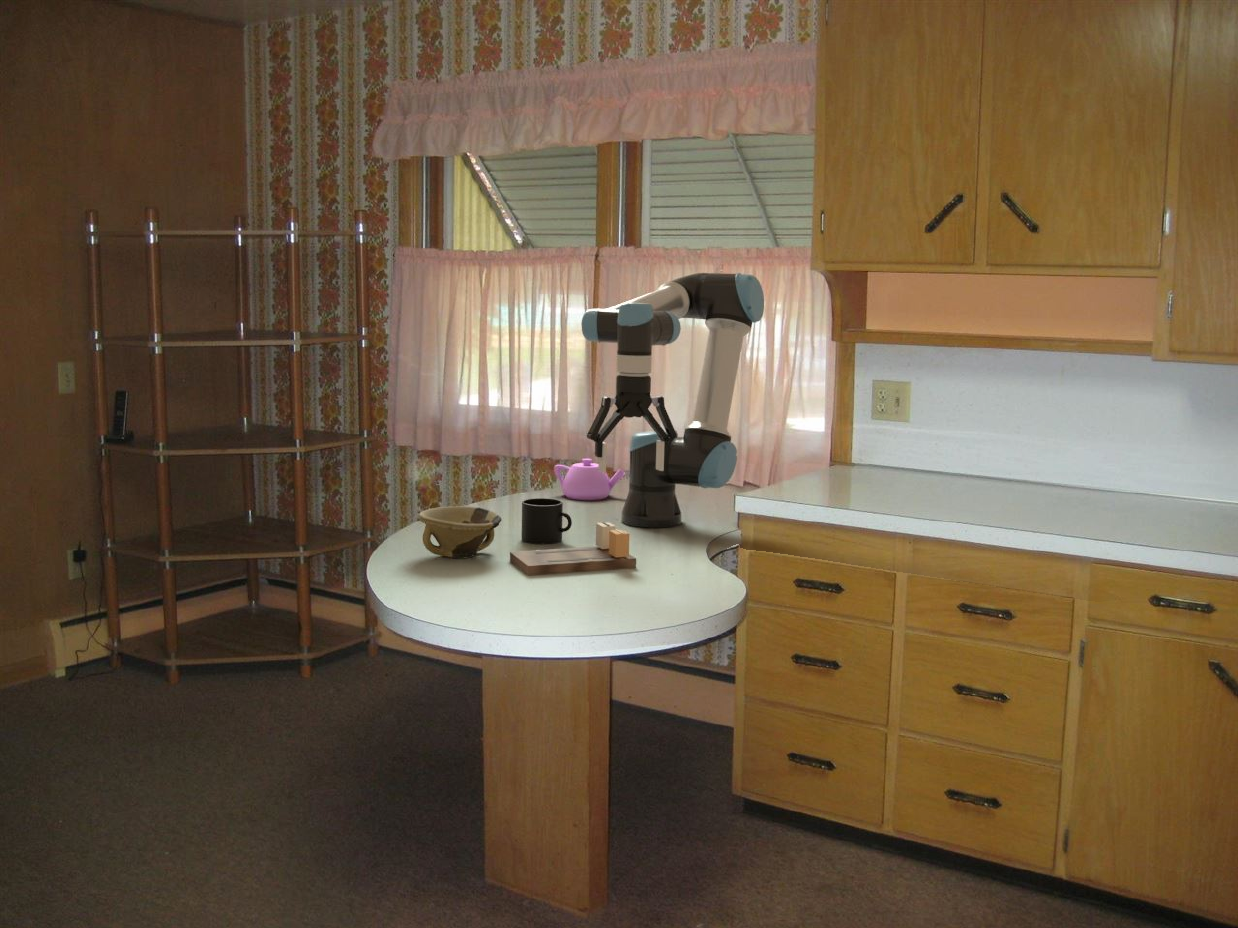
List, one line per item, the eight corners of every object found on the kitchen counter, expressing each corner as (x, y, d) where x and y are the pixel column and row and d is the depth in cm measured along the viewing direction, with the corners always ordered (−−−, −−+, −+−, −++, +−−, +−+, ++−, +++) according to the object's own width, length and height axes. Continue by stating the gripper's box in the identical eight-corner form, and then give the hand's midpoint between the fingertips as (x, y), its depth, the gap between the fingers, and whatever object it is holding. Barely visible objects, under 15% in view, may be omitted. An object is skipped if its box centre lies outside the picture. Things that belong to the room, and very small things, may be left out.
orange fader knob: (621, 552, 260) (622, 528, 259) (628, 556, 256) (629, 532, 255) (608, 553, 259) (609, 529, 258) (615, 557, 255) (616, 533, 254)
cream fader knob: (608, 544, 267) (608, 521, 266) (615, 548, 264) (615, 525, 263) (595, 545, 266) (596, 522, 265) (602, 549, 262) (602, 525, 262)
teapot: (621, 503, 329) (622, 464, 327) (549, 499, 332) (550, 461, 330) (627, 494, 343) (628, 456, 341) (558, 490, 345) (558, 453, 343)
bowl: (434, 568, 252) (434, 523, 250) (408, 550, 268) (408, 507, 266) (512, 561, 260) (513, 517, 258) (482, 543, 276) (483, 502, 274)
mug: (564, 547, 274) (564, 508, 273) (515, 542, 278) (515, 503, 276) (577, 538, 283) (578, 500, 282) (530, 534, 287) (530, 496, 285)
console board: (613, 553, 269) (613, 544, 268) (635, 567, 257) (636, 557, 256) (509, 560, 260) (510, 551, 259) (528, 575, 248) (528, 565, 248)
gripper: (679, 372, 270) (676, 466, 273) (573, 373, 261) (571, 470, 264) (693, 375, 263) (689, 471, 266) (585, 376, 254) (583, 475, 257)
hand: (631, 471), depth 265 cm, fingers open, 13 cm apart
